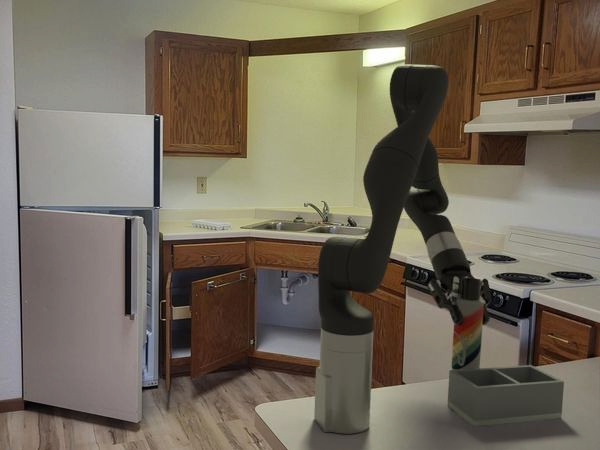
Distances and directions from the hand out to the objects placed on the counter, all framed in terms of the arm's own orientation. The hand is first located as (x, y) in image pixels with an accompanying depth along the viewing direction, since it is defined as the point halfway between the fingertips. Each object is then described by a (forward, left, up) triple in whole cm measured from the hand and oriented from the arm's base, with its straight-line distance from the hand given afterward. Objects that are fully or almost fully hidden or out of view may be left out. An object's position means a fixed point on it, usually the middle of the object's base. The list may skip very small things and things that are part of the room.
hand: (473, 323), depth 121 cm
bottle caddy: (+1, -10, -15) cm, 18 cm away
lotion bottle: (0, +2, -11) cm, 11 cm away
